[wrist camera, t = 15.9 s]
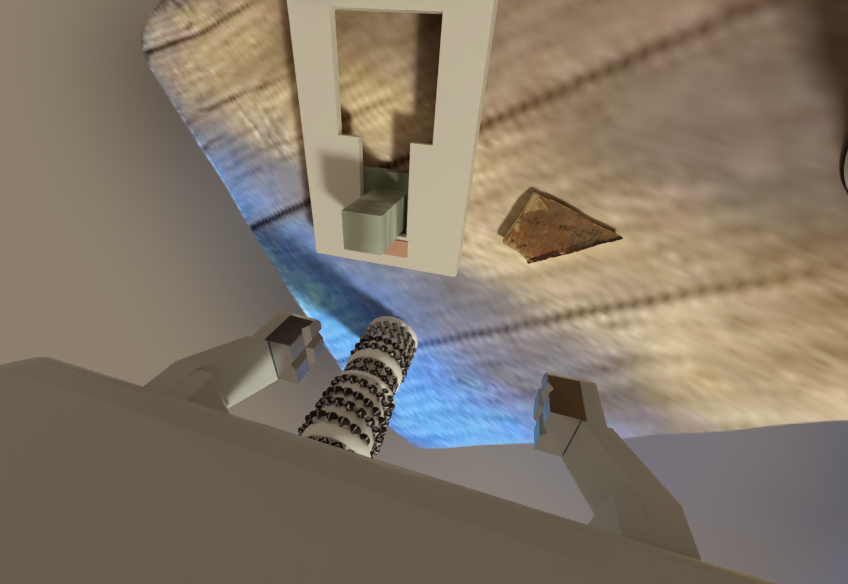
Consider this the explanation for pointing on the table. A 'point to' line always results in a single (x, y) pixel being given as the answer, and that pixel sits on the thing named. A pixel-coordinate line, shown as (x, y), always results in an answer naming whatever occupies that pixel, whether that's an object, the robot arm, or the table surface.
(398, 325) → the decorative candle
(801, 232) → the table surface
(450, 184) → the keyhole plate
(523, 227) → the shard
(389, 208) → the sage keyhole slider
